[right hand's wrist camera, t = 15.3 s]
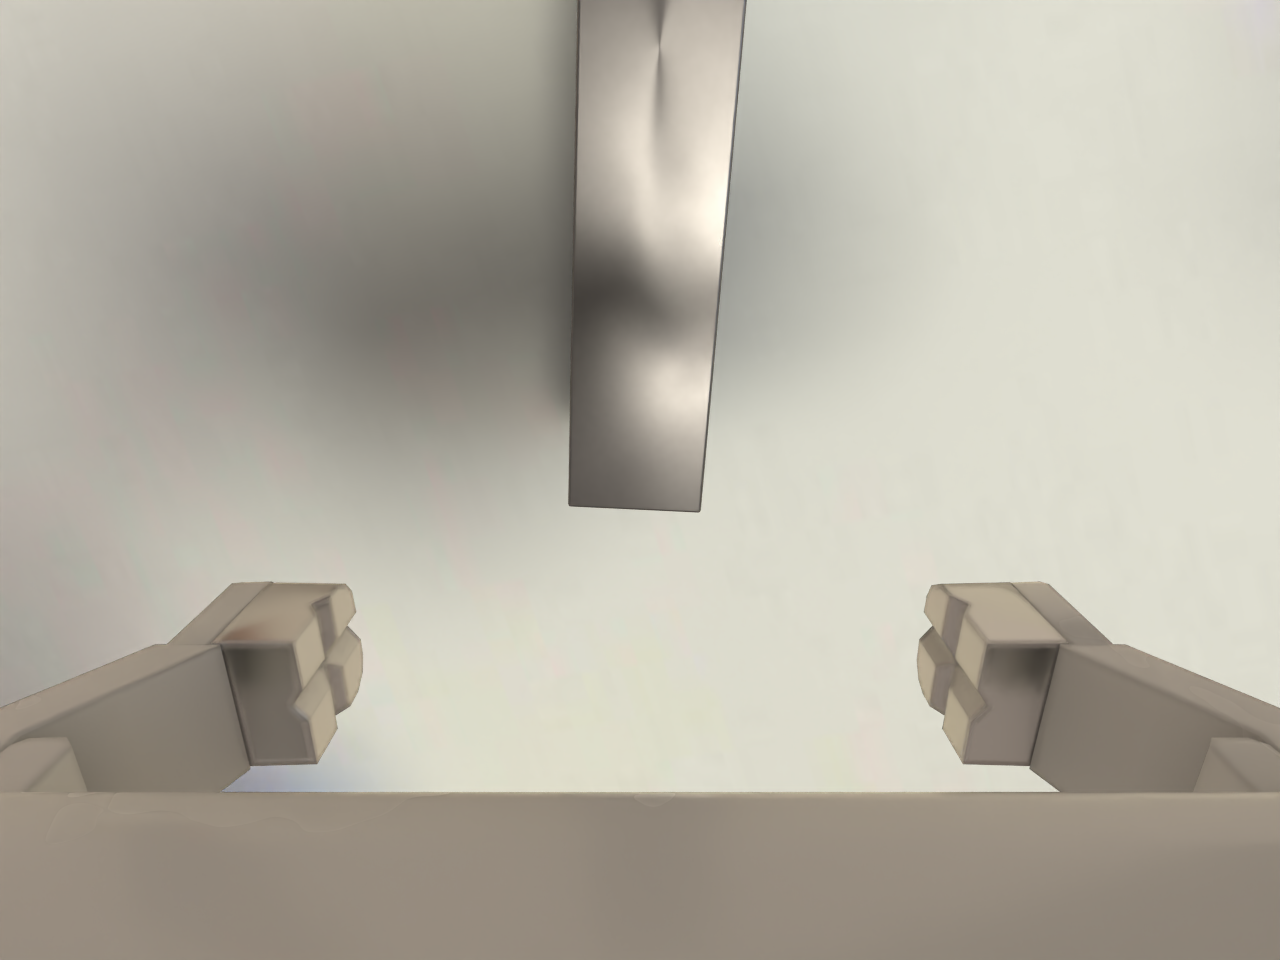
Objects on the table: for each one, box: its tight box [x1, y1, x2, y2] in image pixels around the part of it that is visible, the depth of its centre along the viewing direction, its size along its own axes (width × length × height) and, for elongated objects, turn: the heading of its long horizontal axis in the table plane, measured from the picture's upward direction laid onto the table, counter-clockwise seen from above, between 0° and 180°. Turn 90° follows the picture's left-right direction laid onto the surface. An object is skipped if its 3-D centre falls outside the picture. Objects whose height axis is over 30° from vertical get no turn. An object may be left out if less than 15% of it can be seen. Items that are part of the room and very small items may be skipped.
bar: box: [568, 0, 747, 512], centre depth 24 cm, size 27×4×9 cm, turn 177°
